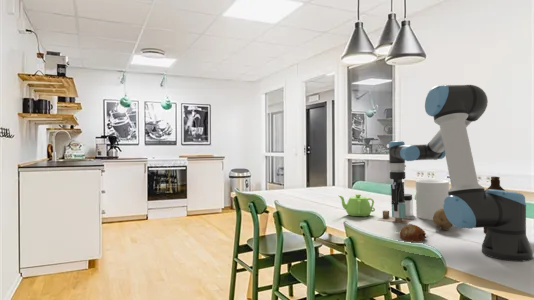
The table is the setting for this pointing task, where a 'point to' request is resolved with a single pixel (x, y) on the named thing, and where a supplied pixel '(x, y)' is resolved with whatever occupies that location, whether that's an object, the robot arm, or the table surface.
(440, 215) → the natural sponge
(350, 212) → the teapot
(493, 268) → the table surface
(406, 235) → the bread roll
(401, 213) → the teal block
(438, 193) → the canister
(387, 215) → the stub post
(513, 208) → the robot arm
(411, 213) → the jar
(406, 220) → the board
